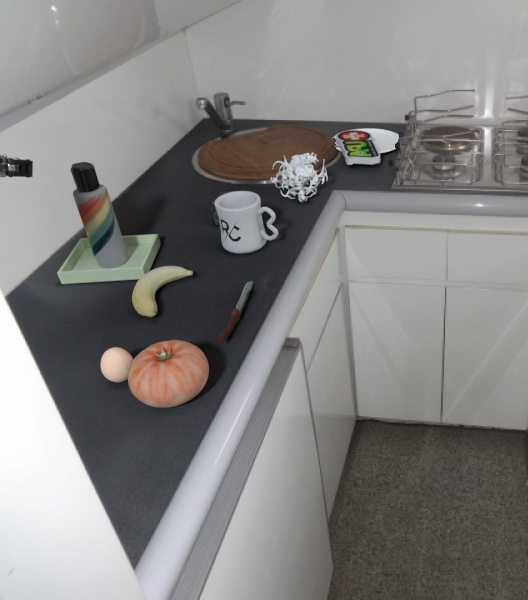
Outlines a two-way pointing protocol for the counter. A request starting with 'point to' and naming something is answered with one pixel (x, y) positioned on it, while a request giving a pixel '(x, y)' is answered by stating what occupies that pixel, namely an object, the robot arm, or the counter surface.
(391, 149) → the plate
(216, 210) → the reflex sight
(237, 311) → the knife
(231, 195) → the mug
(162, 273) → the fruit
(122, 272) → the green tray
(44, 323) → the counter surface
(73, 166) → the lotion bottle
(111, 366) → the egg
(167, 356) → the tomato
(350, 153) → the sign
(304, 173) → the figurine
